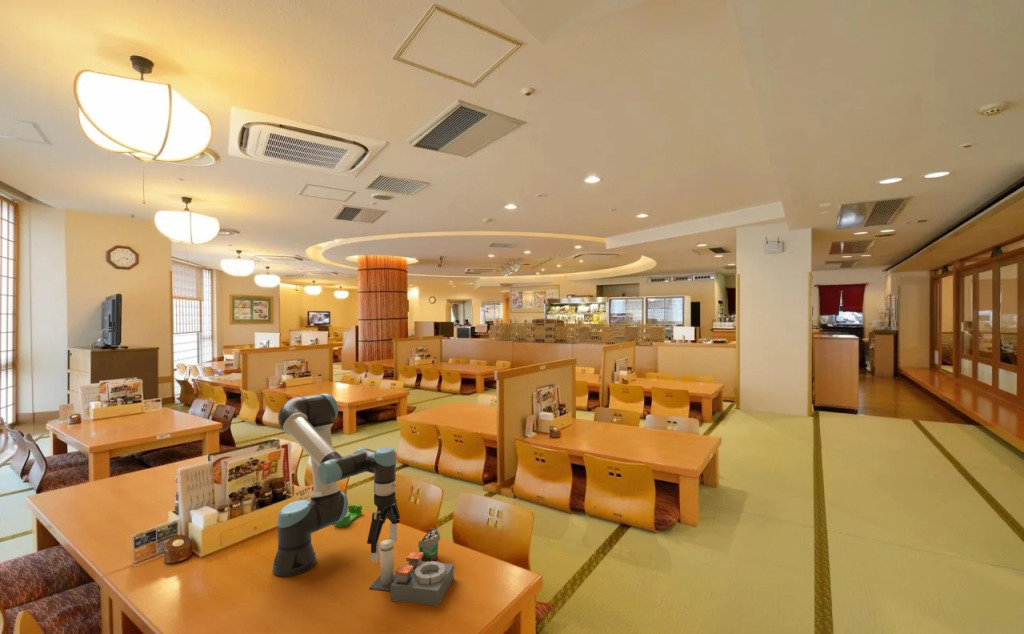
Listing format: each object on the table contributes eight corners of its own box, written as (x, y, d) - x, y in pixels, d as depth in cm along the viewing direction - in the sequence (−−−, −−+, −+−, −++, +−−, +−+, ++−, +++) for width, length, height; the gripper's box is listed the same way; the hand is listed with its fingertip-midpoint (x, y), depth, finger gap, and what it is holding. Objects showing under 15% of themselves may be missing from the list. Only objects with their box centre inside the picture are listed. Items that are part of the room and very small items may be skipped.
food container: (433, 569, 165) (433, 543, 166) (418, 568, 167) (418, 541, 167) (444, 552, 178) (444, 528, 178) (430, 551, 179) (430, 527, 179)
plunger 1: (395, 591, 148) (395, 571, 148) (401, 583, 153) (401, 564, 153) (407, 593, 147) (407, 573, 147) (413, 585, 152) (413, 565, 152)
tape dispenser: (344, 528, 201) (344, 518, 201) (330, 527, 202) (330, 517, 202) (362, 514, 215) (362, 505, 215) (349, 513, 217) (349, 504, 217)
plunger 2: (406, 576, 157) (406, 557, 157) (412, 569, 162) (411, 551, 162) (418, 577, 156) (418, 558, 156) (423, 570, 161) (423, 552, 161)
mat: (369, 589, 154) (369, 587, 154) (381, 574, 163) (381, 573, 163) (392, 591, 152) (392, 590, 152) (404, 577, 161) (404, 575, 161)
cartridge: (378, 584, 156) (377, 545, 156) (384, 577, 160) (384, 538, 160) (390, 586, 155) (389, 546, 155) (396, 578, 159) (395, 539, 160)
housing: (390, 600, 147) (390, 579, 147) (410, 573, 163) (410, 554, 163) (438, 606, 144) (437, 584, 144) (453, 578, 160) (453, 559, 160)
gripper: (377, 507, 145) (376, 571, 145) (409, 480, 170) (408, 534, 170) (356, 505, 147) (356, 568, 147) (391, 478, 171) (390, 532, 171)
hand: (384, 550), depth 158 cm, fingers open, 13 cm apart
